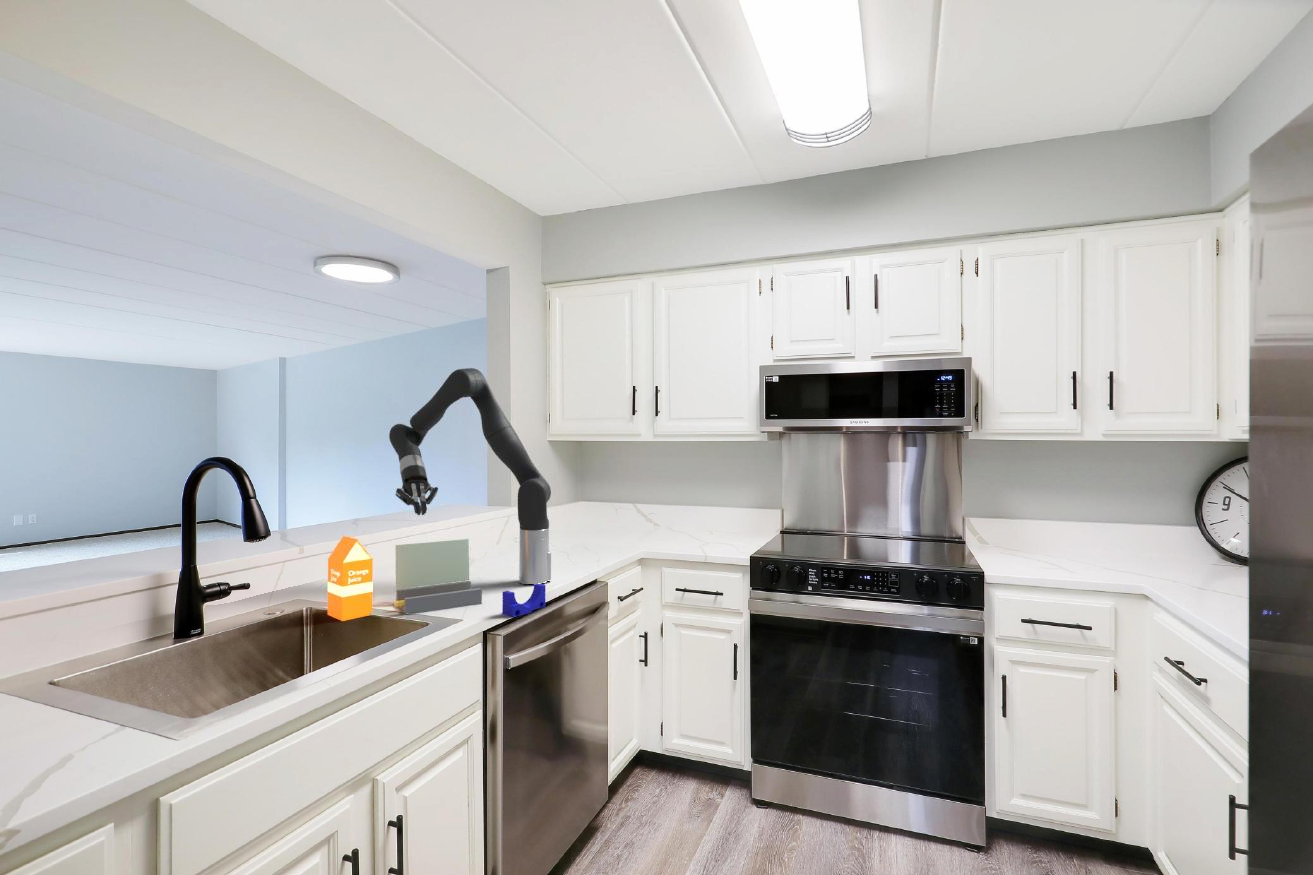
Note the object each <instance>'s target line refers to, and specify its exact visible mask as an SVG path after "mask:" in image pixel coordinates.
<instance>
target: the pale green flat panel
mask: <svg viewBox="0 0 1313 875" xmlns="http://www.w3.org/2000/svg"><path fill="white" fill-rule="evenodd" d="M469 544H470V543H469V538H464V539H462V538H461V539H455V540H454V539H453V540H452V539H450V540H440V541H439V540H437V541H429V542H417V543H405V544H404V543H403V544H402V543H401V544H396V545H395V589H396V590H398V589H406V588H414V587H422V586H430V585H439V584H447V583H455V582H463V581H470V556H469V555H470V552H469V550H470V549H469V548H470V547H469Z"/></svg>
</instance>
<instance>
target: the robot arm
mask: <svg viewBox="0 0 1313 875" xmlns="http://www.w3.org/2000/svg"><path fill="white" fill-rule="evenodd" d="M469 397H470V399H471V400H472V401H473V403H474V404H475V406H476V407H477V410H478V412H479V415H480V421H481V428H482V434H483V436H484V438H485V440H486V441H487V444H488V445H489V447H490V448H491V450H492V451H493V453H494V454H495V455H496V457H497V458H498V459H499V461H501V462H502V463H503V464H504V465H505V466H506V468H508V469H509V470H510V472H511V473H512V474H513V476H514V478H515V479H516V481H517V482H518V485H519V488H518V492H517V518H518V519H517V520H518V523H519V557H518V558H519V560H518V561H519V563H518V566H519V573H518V574H519V576H518V578H519V580H518V581H519V584H520V583H522V584H521V585H524V584H538V583H543V582H545V581H548V580H551V581H552V552H551V551H550V549H549V548H550V546H549V544H550V542H549V541H550V539H549V538H550V535H549V534H550V530H549V529H550V521H549V518H548V510H547V509H548V508H547V507H548V506H547V505H548V502H549V501H550V499H551V497H552V496H551V495H552V490H551V486H550V484H549V483H548V480H546V478H544V476H543V475H542V473H541V472H540V471H539V469H538V468H537V467H536V466H535V464H534V463H533V461H532V459H531V457H530V455H529V454H528V452H527V450H526V448H525V446H524V444H523V443H522V441H521V439H520V438H519V436H518V434H517V432H516V431H515V429H514V427H513V426H512V424H511V423H510V421H509V419H508V418H507V417H506V415H505V413H504V411H503V410H502V408H501V406H500V404H499V403H498V402H497V399H496V398H495V394H494V393H493V391H492V390H491V387H490V384H489V382H488V381H487V379H486V377H485V376H484V374H483V373H482V371H480V370H479V369H477V368H472V367H468V368H467V367H466V368H460V369H456V370H453V372H451V373H450V374H449V375H448V377H447V378H446V379H445V381H444V382H443V383H442V385H441V387H440V388H439V389H438V390H437V392H435V394H434V395H433V396H432V397H431V398H430V400H429V401H428V402H427V403H425V405H423V406H422V407H421V408H420V409H419V410H418V411H417V412H415V413H414V414H413V415H412V417H411V418H410V419H409V425H410V426H408V425H406V424H403V423H396V424H394V425H393V426H391V428H390V430H389V434H388V438H389V442H390V444H391V446H392V448H393V449H394V451H395V453H396V454H397V456H398V462H399V474H400V478H401V481H402V483H401V484H402V486H401V487H400V488H396V490H395V491H396V492H395V496H396V497H397V498H398V500H401V502H403V503H404V504H405V505H407V506H412V507H413V511H414V514H416V515H417V516H421V515H422V516H425V514H427V511H428V507H427V505H430V504H431V503H432V501H433V500H434V498H435V497H436V496H437V495H438V490H439V487H438V486H436V487H433V486H431V483H430V482H429V480H428V477H427V475H428V474H427V470H426V467H425V463H424V460H423V457H422V452H421V449H420V448H419V447H420V446H421V444H422V442H423V441H424V439H425V437H426V436H427V435H428V433H429V431H430V430H431V429H432V428H434V427H435V426H436V425H437V424H438V423H439V422H440V421H441V420H442V419H443V417H444V415H445V413H446V411H447V409H448V408H449V407H450V406H452V405H453V404H454V403H456V402H457V401H459V400H461V399H462V398H469ZM428 492H429V494H428V496H427V497H426V495H427V493H428Z"/></svg>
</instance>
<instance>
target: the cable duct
mask: <svg viewBox="0 0 1313 875" xmlns="http://www.w3.org/2000/svg"><path fill="white" fill-rule="evenodd" d="M471 586H472V584H471V581H470V580H467V581H459V582H450V583H442V584H434V585H426V586H418V587H410V588H402V589H396V596H395V597H396V598H395V600H396V601H395V602H394V604H393V605H394V606H395V607H396V608H398V609H400V611H401V612H402V613H403V612H404V613H413V614H420V613H426V612H434V611H440V610H446V609H454V608H460V607H466V606H473V605H481V604H482V603H483V589H482V588H480V587H477V588H471ZM404 613H403V614H404Z"/></svg>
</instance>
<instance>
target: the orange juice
mask: <svg viewBox="0 0 1313 875" xmlns="http://www.w3.org/2000/svg"><path fill="white" fill-rule="evenodd" d="M373 560H374V558H373V557H371V555H370V554H369V552H368V551H367V550H366V548H365V547H364V546H363V544H362V543H361V542H360V541H359V538H355V537H354V538H353V537H350V536H345V535H343V536H342V537H341V539H340V540H339V542H338V543H337V545H336V546H335V547H334V549H333V551H331V554H330V556H329V557H328V558H327V616H330V617H332V618H334V619H337V620H339V621H341V622H345V621H348V620H354V619H358V618H362V617H366V616H370V615H369V613H372V614H373V592H374V588H373V587H374V586H373V585H374V583H373V575H374V574H373V567H374V566H373V565H374V564H373V563H374V561H373Z"/></svg>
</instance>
